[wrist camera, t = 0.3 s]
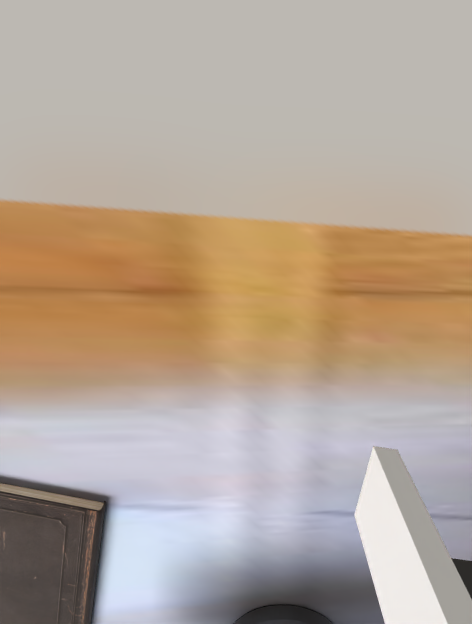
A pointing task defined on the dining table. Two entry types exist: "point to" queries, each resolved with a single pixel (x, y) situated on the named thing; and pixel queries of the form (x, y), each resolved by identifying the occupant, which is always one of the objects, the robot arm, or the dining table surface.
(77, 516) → the hardcover book
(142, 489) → the dining table surface
